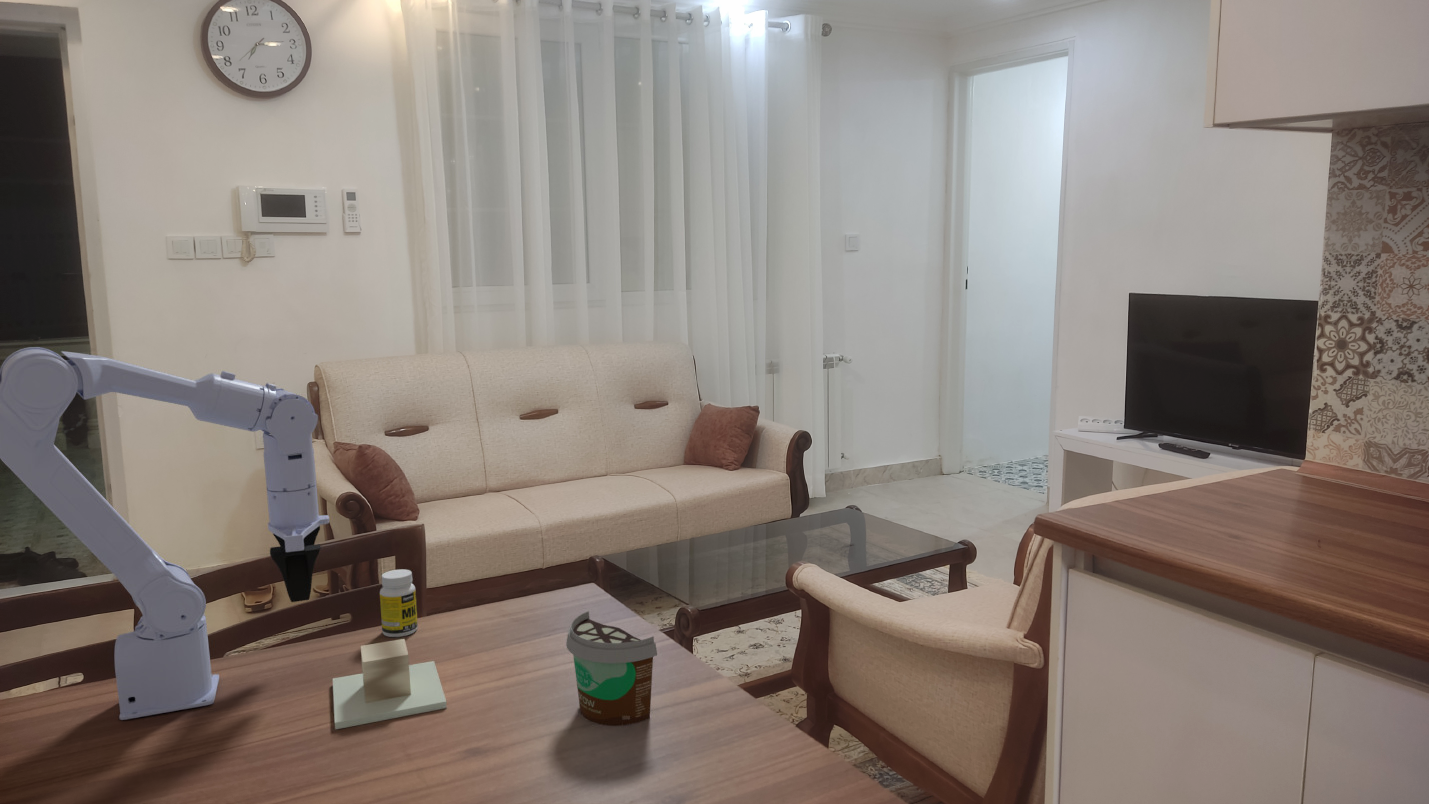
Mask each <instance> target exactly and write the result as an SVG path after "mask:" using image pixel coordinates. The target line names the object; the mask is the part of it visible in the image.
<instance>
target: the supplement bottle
mask: <svg viewBox="0 0 1429 804" xmlns="http://www.w3.org/2000/svg"><path fill="white" fill-rule="evenodd" d="M413 580H414V579H413V572H412V571H411V570H410V569H406V568H405V569H402V568H401V569H400V568H399V569H393V570H389V571H386V572H384V573H383V574H382V575H381V586H382V587H381V588H380V590H379V602H380V614H381V630H382V631H381V632H382V634H383V636H385V637H388V638H389V637H390V638H401V637H407V636H410V635H411V634H414V633H415V632H416V631H417V629H418V626H419V625H418V612H417V595H416V592H417V591H416V586H415V584H413Z"/></svg>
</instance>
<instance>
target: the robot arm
mask: <svg viewBox="0 0 1429 804" xmlns="http://www.w3.org/2000/svg"><path fill="white" fill-rule="evenodd" d="M60 352H61V353H62V354H63V355H64V356H65V357H66V359H67V360H66V359H64V358H63V357H62V356H61V355H60V354H58V353H57V352H55V351H53V350H50V349H48V348H45V347H38V346H35V347H34V346H33V347H32V346H31V347H25V348H21V349H19V350H17V351H16V350H15V351H14V352H12V353H11V354H9V355H8V356H7V357H6V358H5V360H4V361H3V362H2V364H1V366H0V460H1V461H2V462H3V463H4V464H5V465H6V467H8V468H9V469H10V471H12V473H14V474H15V476H17V478H18V479H19V480H20V481H21V482H23V484H24V485H25V486H26V487H27V488H28V489H29V490H30V491H31V492H32V493H33V494H34V495H35V496H36V497H37V498H38V499H39V500H40V501H41V502H42V503H43V504H44V505H45V506H46V507H47V509H49V510H50V511H51V513H53V515H54V516H56V518H58V519H59V520H60V521H61V523H62V524H64V526H65V527H66V528H67V529H68V530H69V531H70V532H71V533H72V534H74V536H75V537H76V538H78V540H79V541H81V543H82V544H83V545H84V546H85V547H86V548H87V549H88V550H89V551H90V552H91V553H92V554H93V555H94V556H95V557H96V558H97V559H98V560H99V561H100V562H101V563H102V564H103V565H104V567H106V568H107V569H108V570H109V571H110V572H111V573H112V574H113V576H115V577H116V579H117V580H118V581H119V582H120V584H122V586H123V587H124V588H125V590H127V592H128V593H129V595H130V596H131V598H132V600H133V602H134V604H135V606H136V607H138V609H139V610H140V613H141V614H142V616H140V619H139V620H138V622H137V625H136V626H135V627H134V630H133V631H129V632H125V633H121V634H118V635H117V637H116V639H115V643H114V655H113V656H114V670H115V678H116V679H115V682H116V689H117V697H118V705H119V712H120V714H119V715H118V716H119V720H121V721H123V720H124V721H125V720H131V719H136V718H141V717H148V716H153V715H159V714H160V715H161V714H163V713H170V712H176V711H180V710H188V709H193V708H199V707H200V708H201V707H205V706H209V705H212V704H214V703H215V700H216V699H215V698H216V694H217V690H218V686H219V685H218V684H219V682H220V674H216V673H215V674H212V665H211V657H210V648H209V647H210V645H209V638H208V626H207V619H206V615H205V613H206V612H205V611H206V608H207V601H206V597H205V593H204V592H203V591H202V589H201V588H200V587H199V586H197V585H196V584H195V583H194V581H193V580H192V578H191V576H190V574H189V572H188V571H187V570H186V569H185V568H184V567H182V566H180V565H178V564H176V563H172V562H170V561H167V560H165V559H164V558H163V557H162V556H161V555H160V554H159V553H158V552H157V551H156V550H155V549H153V547H151V545H150V544H149V543H147V542H146V541H145V540H144V539H143V538H142V536H141V535H140V534H139V533H138V532H137V531H136V530H135V529H134V528H133V526H131V525H130V523H129V522H127V521H126V519H125V518H124V517H123V516H122V515H121V514H120V513H119V512H118V511H117V510H116V509H115V508H114V507H113V505H111V504H110V503H109V501H108V500H107V499H106V498H105V497H104V496H103V495H102V494H101V493H100V492H99V491H98V490H97V489H96V487H95V486H94V485H93V484H92V483H91V482H90V481H89V480H88V479H87V478H86V477H85V476H84V475H83V474H82V472H80V470H78V469H77V467H76V466H75V465H74V464H73V463H72V462H71V461H70V460H69V458H68V457H66V455H65V454H63V452H62V451H61V450H60V449H59V448H58V447H57V446H56V445H55V440H56V436H57V432H58V428H59V424H60V418H61V416H63V414H64V413H65V412H66V410H67V408H68V407H69V406H70V404H71V403H72V402H73V400H74V398H75V397H76V395H77V394H78V395H79V396H80V397H81V398H82V399H83V400H89V399H93V398H95V397H99V396H102V395H105V394H109V393H118V394H122V395H127V396H133V397H139V398H144V399H149V400H154V401H159V402H165V403H169V404H175V405H178V406H179V405H181V406H184V407H188V409H189V410H190V411H191V413H192V415H193V416H194V418H195V419H196V420H198V421H200V422H206V423H209V424H210V423H211V424H215V425H220V426H224V427H229V428H234V429H238V430H243V431H248V432H254V433H255V432H257V431H258V432H259V431H261V432H263V433H262V438H263V439H262V443H263V460H264V461H263V464H264V472H265V483H266V484H265V486H266V496H267V499H266V500H267V507H268V519H269V520H268V521H269V522H267V529H268V531H269V532H270V533H271V534H272V535H273V536H274V539H275V540H276V541H277V542H278V545H279V546H272V547H270V548H269V555H270V557H271V559H272V561H273V562H274V563H275V564H276V566H277V568H278V570H279V572H280V573H281V576H282V579H283V582H284V586H285V588H286V593H287V595H288V597H289V600H290V602H291V603H296V602H302V601H304V602H305V601H308V600H310V598H311V592H312V584H313V583H312V582H313V581H312V580H313V573H314V567H315V563H316V560H317V559H318V556H319V553H320V551H321V544H320V543H317V544H316V539H317V537H318V534H319V533H320V530H321V525H328V524H329V523H330V515H327V514H326V515H320V514H319V513H320V511H319V500H318V498H319V497H318V489H317V476H316V475H317V474H316V463H315V462H316V461H315V450H314V447H313V437H312V434H313V432H314V431H315V429H316V428H317V425H318V421H319V415H318V414H317V413H316V411H315V408H314V406H313V404H312V403H311V402H310V401H309V400H308V399H307V398H305V397H304V396H302V395H299V394H297V393H295V392H291V391H288V390H284V388H282V387H281V388H280V387H277V385H276V384H273V383H269V382H266V383H265V384H264V385H262V384H258V383H253V382H250V381H245V380H241V379H237V378H236V374H235V373H233V372H229V371H225V370H222V371H221V373H220V374H217V373H212V372H211V373H207V374H206V375H204V376H202V377H200V378H198V379H194V380H192V379H189V378H186V377H182V376H178V375H174V374H170V373H166V372H162V371H160V370H156V369H152V368H147V367H145V366H140V365H137V364H134V363H129V362H125V361H122V360H118V359H115V358H110V357H105V356H103V355H102V356H101V355H95V354H94V355H93V354H87V353H79V352H71V351H63V350H62V351H60Z"/></svg>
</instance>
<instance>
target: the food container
mask: <svg viewBox="0 0 1429 804" xmlns="http://www.w3.org/2000/svg"><path fill="white" fill-rule="evenodd" d="M656 644H657V643H656V642H655V638H654V635H653V636H651V637H647V638H644V639H640V638H638V637H636V636H634V635H632V634H630V633H629V632H627V631H626V630H623V629H622V628H620V627H617V626H612V625H606V624H602V623H600V622H598V621H595V620H592V619H590V611H589V610H588V611H585V612H583V613H581V614H579V615H577V616H576V617H575V618H574V619H573V620H572V621H571V624H570V626H569V628H568V632H567V638H566V643H565V645H566V648H567V650H568V651H569V653H571V654H572V656H573V664H574V672H575V679H576V688H577V694H578V696H577V697H578V702H579V703H578V704H579V710H580V714H581V715H582V717H583V718H584V719H585V720H587V721H588V722H591V723H593V724H597V725H601V726H610V727H618V726H620V727H621V726H629V725H634V724H638V723H642V722H644V721H646V720H648V719H650V718H651V706H652V705H651V702H652V700H651V699H652V687H653V686H652V685H653V683H652V681H653V666H654V664H653V663H654V657H657V656H658V651H657V645H656Z"/></svg>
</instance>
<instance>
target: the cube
mask: <svg viewBox="0 0 1429 804" xmlns="http://www.w3.org/2000/svg"><path fill="white" fill-rule="evenodd" d="M360 653H361V654H360V656H361V667H362V668H361V670H362V673H363V684H364V693H365V701H366V703H369V702H375V701H380V700H385V699H391V698H396V697H401V696H407V695H411V688H410V673H409V665H410V663H409V662H410V659H409V653H408V648H407V643H406V640H405V638H400V639H396V640H395V639H394V640H389V641H382V642H377V643H372V644H371V643H370V644H366V645H365V644H364V645H360Z"/></svg>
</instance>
